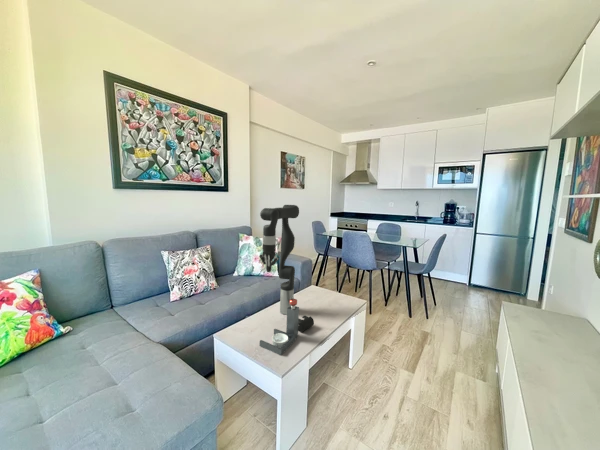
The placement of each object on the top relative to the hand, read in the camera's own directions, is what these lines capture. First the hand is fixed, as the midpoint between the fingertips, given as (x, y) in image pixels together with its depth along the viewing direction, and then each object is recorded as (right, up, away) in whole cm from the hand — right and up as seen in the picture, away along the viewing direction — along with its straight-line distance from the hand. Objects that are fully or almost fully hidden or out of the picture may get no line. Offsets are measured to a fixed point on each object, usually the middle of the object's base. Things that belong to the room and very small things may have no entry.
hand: (268, 271), depth 143 cm
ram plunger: (+14, -26, -2) cm, 30 cm away
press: (+7, -38, -5) cm, 39 cm away
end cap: (+21, -37, +8) cm, 44 cm away
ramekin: (+7, -39, -9) cm, 41 cm away
